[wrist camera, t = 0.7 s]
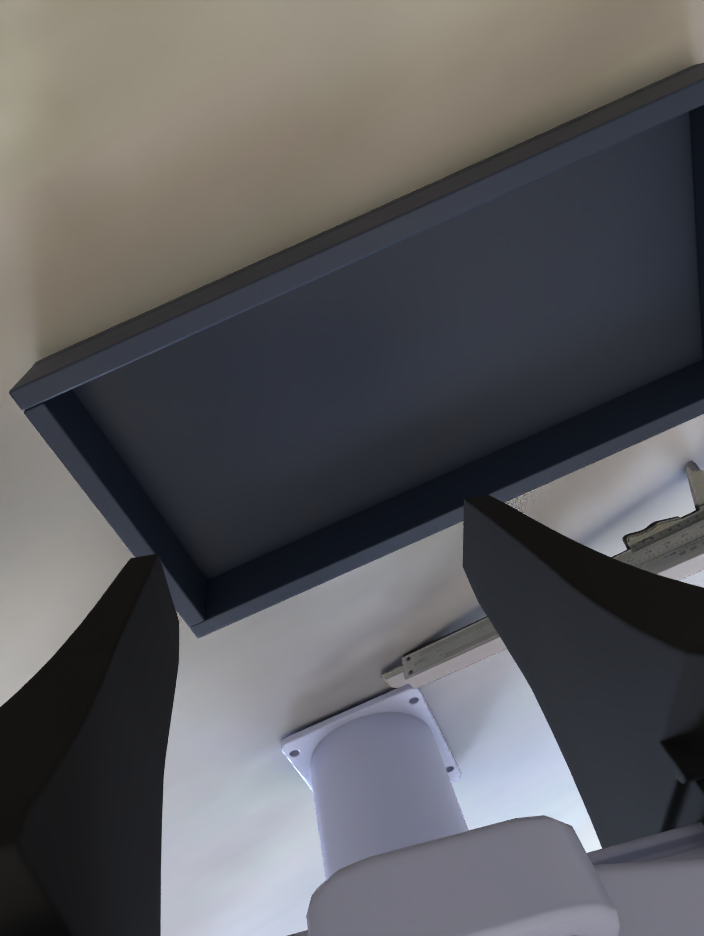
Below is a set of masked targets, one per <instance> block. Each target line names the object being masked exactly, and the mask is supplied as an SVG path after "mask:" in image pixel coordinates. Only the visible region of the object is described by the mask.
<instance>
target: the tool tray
mask: <svg viewBox="0 0 704 936" xmlns="http://www.w3.org/2000/svg"><path fill="white" fill-rule="evenodd" d="M9 394H10V395H11V397H12V398H13V399H14V400H15V402H16V403H17V404H18V406H19V407H20V408H21V409H22V410H25V411H24V414H25V415H26V416H27V418H28V419H29V420H30V422H31V423H32V424H33V425H34V427H35V428H36V429H37V431H38V432H39V433H40V435H41V436H42V437H43V438H44V440H45V441H46V442H47V444H48V445H49V446H50V447H51V449H52V450H53V451H54V453H55V454H56V455H57V457H58V458H59V459H60V460H61V462H62V463H63V464H64V466H65V467H66V468H67V469H68V471H69V472H70V473H71V475H72V476H73V477H74V479H75V480H76V481H77V482H78V484H79V485H80V486H81V488H82V489H83V490H84V491H85V493H86V494H87V495H88V497H89V498H90V499H91V501H92V502H93V503H94V504H95V506H96V507H97V508H98V510H99V511H100V512H101V513H102V515H103V516H104V517H105V519H106V520H107V521H108V523H109V524H110V525H111V526H112V528H113V529H114V530H115V532H116V533H117V534H118V535H119V537H120V538H121V539H122V541H123V542H124V543H125V545H126V546H127V547H128V548H129V550H130V551H131V552H132V554H133V555H134V556H135V557H141V556H147V555H153V554H159V557H160V560H161V564H162V567H163V570H164V574H165V577H166V580H167V584H168V587H169V590H170V593H171V597H172V600H173V603H174V607H175V609H176V611H177V612H178V613H179V614H180V616H181V617H182V618H183V620H184V621H185V622H186V623H187V625H188V626H189V627H190V629H191V630H192V631H193V633H194V634H195V635H196V637H197V638H201V637H203V636H205V635H207V634H210V633H212V632H214V631H216V630H219V629H221V628H223V627H225V626H228V625H230V624H232V623H234V622H237V621H239V620H241V619H243V618H246V617H248V616H250V615H252V614H255V613H257V612H259V611H261V610H264V609H266V608H268V607H270V606H272V605H275V604H277V603H279V602H281V601H284V600H286V599H288V598H290V597H293V596H295V595H297V594H299V593H302V592H304V591H306V590H308V589H311V588H313V587H315V586H317V585H320V584H322V583H324V582H326V581H329V580H331V579H333V578H335V577H338V576H340V575H342V574H344V573H347V572H349V571H351V570H353V569H356V568H358V567H360V566H362V565H365V564H367V563H369V562H371V561H374V560H376V559H378V558H380V557H383V556H385V555H387V554H389V553H392V552H394V551H396V550H398V549H401V548H403V547H405V546H407V545H410V544H412V543H414V542H416V541H419V540H421V539H423V538H425V537H428V536H430V535H432V534H434V533H437V532H439V531H441V530H443V529H446V528H448V527H450V526H452V525H455V524H457V523H459V522H461V521H464V499H466V498H472V497H477V496H483V495H490V496H492V497H494V498H496V499H498V500H500V501H502V502H503V503H504V502H506V501H509V500H511V499H513V498H515V497H518V496H520V495H522V494H524V493H527V492H529V491H531V490H533V489H536V488H538V487H540V486H542V485H545V484H547V483H549V482H551V481H554V480H556V479H558V478H560V477H562V476H565V475H567V474H569V473H571V472H574V471H576V470H578V469H580V468H583V467H585V466H587V465H589V464H592V463H594V462H596V461H598V460H601V459H603V458H605V457H607V456H610V455H612V454H614V453H616V452H619V451H621V450H623V449H625V448H628V447H630V446H632V445H634V444H637V443H639V442H641V441H643V440H646V439H648V438H650V437H652V436H655V435H657V434H659V433H661V432H664V431H666V430H668V429H670V428H673V427H675V426H677V425H679V424H682V423H684V422H686V421H688V420H691V419H693V418H695V417H697V416H700V415H702V414H704V63H701V64H696V65H693V66H691V67H689V68H687V69H685V70H682V71H680V72H678V73H676V74H673V75H671V76H669V77H667V78H665V79H662V80H660V81H658V82H656V83H654V84H651V85H649V86H647V87H645V88H642V89H640V90H638V91H636V92H634V93H631V94H629V95H627V96H625V97H622V98H620V99H618V100H616V101H614V102H611V103H609V104H607V105H605V106H603V107H600V108H598V109H596V110H594V111H591V112H589V113H587V114H585V115H583V116H580V117H578V118H576V119H574V120H571V121H569V122H567V123H565V124H563V125H560V126H558V127H556V128H554V129H552V130H549V131H547V132H545V133H543V134H540V135H538V136H536V137H534V138H532V139H529V140H527V141H525V142H523V143H520V144H518V145H516V146H514V147H512V148H509V149H507V150H505V151H503V152H501V153H498V154H496V155H494V156H492V157H489V158H487V159H485V160H483V161H481V162H478V163H476V164H474V165H472V166H470V167H467V168H465V169H463V170H461V171H458V172H456V173H454V174H452V175H450V176H447V177H445V178H443V179H441V180H438V181H436V182H434V183H432V184H430V185H427V186H425V187H423V188H421V189H419V190H416V191H414V192H412V193H410V194H407V195H405V196H403V197H401V198H399V199H396V200H394V201H392V202H390V203H387V204H385V205H383V206H381V207H379V208H376V209H374V210H372V211H370V212H368V213H365V214H363V215H361V216H359V217H356V218H354V219H352V220H350V221H348V222H345V223H343V224H341V225H339V226H336V227H334V228H332V229H330V230H328V231H325V232H323V233H321V234H319V235H317V236H314V237H312V238H310V239H308V240H305V241H303V242H301V243H299V244H297V245H294V246H292V247H290V248H288V249H285V250H283V251H281V252H279V253H277V254H274V255H272V256H270V257H268V258H266V259H263V260H261V261H259V262H257V263H254V264H252V265H250V266H248V267H246V268H243V269H241V270H239V271H237V272H235V273H232V274H230V275H228V276H226V277H223V278H221V279H219V280H217V281H215V282H212V283H210V284H208V285H206V286H203V287H201V288H199V289H197V290H195V291H192V292H190V293H188V294H186V295H184V296H181V297H179V298H177V299H175V300H172V301H170V302H168V303H166V304H164V305H161V306H159V307H157V308H155V309H152V310H150V311H148V312H146V313H144V314H141V315H139V316H137V317H135V318H133V319H130V320H128V321H126V322H124V323H121V324H119V325H117V326H115V327H113V328H110V329H108V330H106V331H104V332H101V333H99V334H97V335H95V336H93V337H90V338H88V339H86V340H84V341H82V342H79V343H77V344H75V345H73V346H70V347H68V348H66V349H64V350H62V351H59V352H57V353H55V354H53V355H51V356H48V357H46V358H44V359H42V360H39V361H37V362H36V363H35V364H34V365H33V367H32V368H31V369H30V370H29V371H28V372H27V373H26V374H25V375H24V376H23V377H22V378H21V379H20V381H19V382H18V383H17V384H16V385H15V386H14V387H13V388H12V389H11V390H10V391H9Z"/></svg>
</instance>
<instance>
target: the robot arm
mask: <svg viewBox="0 0 704 936" xmlns="http://www.w3.org/2000/svg"><path fill="white" fill-rule="evenodd" d="M463 568H464V570H465V573H466V575H467V577H468V580H469V582H470V584H471V587H472V589H473V591H474V593H475V595H476V598H477V600H478V602H479V603H480V605H481V607H482V608H483V610H484V612H485V613H486V615H487V617H488V618H489V620H490V622H491V623H492V625H493V627H494V628H495V630H496V631H497V633H498V635H499V636H500V638H501V639H502V641H503V643H504V644H505V646H506V647H507V649H508V651H509V652H510V654H511V655H512V657H513V659H514V660H515V662H516V663H517V665H518V667H519V668H520V670H521V672H522V673H523V675H524V677H525V678H526V680H527V682H528V684H529V685H530V687H531V689H532V691H533V693H534V695H535V697H536V699H537V701H538V703H539V705H540V707H541V709H542V711H543V713H544V715H545V718H546V720H547V722H548V724H549V726H550V728H551V730H552V732H553V734H554V737H555V739H556V741H557V743H558V745H559V748H560V750H561V752H562V754H563V756H564V759H565V761H566V763H567V765H568V767H569V770H570V772H571V774H572V777H573V779H574V781H575V784H576V786H577V788H578V791H579V793H580V795H581V798H582V800H583V802H584V805H585V807H586V809H587V812H588V814H589V816H590V819H591V821H592V824H593V826H594V829H595V831H596V834H597V836H598V839H599V841H600V844H601V846H602V849H600V850H596V851H592V852H589V853H586V852H585V850H584V848H583V846H582V844H581V842H580V840H579V838H578V836H577V835H576V833H575V831H574V829H573V827H572V826H570V825H568V824H565V823H563V822H560V821H558V820H555V819H553V818H550V817H547V816H534V817H524V818H515V819H511V820H507V821H504V822H500V823H496V824H492V825H488V826H485V827H481V828H477V829H473V830H468V828H467V825H466V822H465V820H464V817H463V814H462V811H461V809H460V806H459V803H458V801H457V798H456V795H455V792H454V790H453V787H452V783H454V782H456V781H458V780H459V779H460V778H461V776H462V775H461V772H460V769H459V767H458V765H457V763H456V761H455V759H454V757H453V755H452V753H451V751H450V749H449V747H448V745H447V743H446V741H445V739H444V737H443V735H442V733H441V731H440V729H439V727H438V725H437V723H436V721H435V719H434V717H433V715H432V713H431V711H430V709H429V707H428V705H427V703H426V701H425V699H424V697H423V695H422V693H421V691H420V689H419V688H417V689H414V688H413V687H412V686H411V685H410V684H406V685H404V686H402V687H399V688H397V689H394V690H392V691H390V692H388V693H385V694H383V695H381V696H378V697H376V698H374V699H372V700H369V701H367V702H365V703H363V704H360V705H358V706H356V707H354V708H351V709H349V710H347V711H345V712H342V713H340V714H338V715H336V716H333V717H331V718H329V719H326V720H324V721H322V722H320V723H317V724H315V725H313V726H311V727H308V728H306V729H304V730H302V731H299V732H297V733H295V734H293V735H290V736H288V737H286V738H284V739H283V740H282V741H281V750H282V752H283V753H284V755H285V756H286V757H287V758H288V760H289V761H290V762H291V763H292V765H293V766H294V767H295V769H296V770H297V771H298V772H299V774H300V775H301V776H302V778H303V779H304V780H305V781H306V783H307V784H308V785H309V787H310V788H311V789H312V790H313V795H314V802H315V809H316V816H317V823H318V830H319V836H320V843H321V850H322V857H323V864H324V871H325V878H326V881H325V882H324V883H323V884H321V885H320V886H319V887H318V888H317V889H316V891H315V892H314V894H313V895H312V897H311V901H310V905H309V908H308V912H307V916H306V917H307V926H308V930H306V931H303V932H299V933H295V934H292V935H288V936H704V588H703V587H699V586H695V585H691V584H687V583H684V582H681V581H677V580H674V579H671V578H667V577H664V576H661V575H658V574H654V573H651V572H649V571H646V570H643V569H640V568H637V567H634V566H632V565H629V564H627V563H624V562H621V561H619V560H616V559H614V558H611V557H609V556H606V555H604V554H602V553H599V552H597V551H595V550H593V549H591V548H588V547H586V546H584V545H582V544H580V543H578V542H576V541H574V540H572V539H570V538H568V537H566V536H564V535H562V534H560V533H558V532H556V531H554V530H552V529H550V528H548V527H546V526H545V525H543V524H541V523H539V522H537V521H536V520H534V519H532V518H530V517H528V516H527V515H525V514H523V513H521V512H519V511H518V510H516V509H514V508H512V507H511V506H509V505H507V504H505V503H503V502H502V501H500V500H498V499H496V498H494V497H492V496H490V495H483V496H477V497H472V498H466V499H464V531H463ZM178 664H179V620H178V617H177V613H176V610H175V607H174V603H173V600H172V597H171V593H170V590H169V587H168V584H167V580H166V577H165V574H164V570H163V567H162V564H161V560H160V557H159V554H153V555H147V556H141V557H136V558H131V559H130V560H129V561H128V562H127V564H126V565H125V566H124V568H123V569H122V570H121V571H120V573H119V574H118V576H117V577H116V578H115V580H114V581H113V582H112V584H111V585H110V586H109V588H108V589H107V590H106V592H105V593H104V594H103V596H102V597H101V599H100V600H99V601H98V602H97V604H96V605H95V606H94V608H93V609H92V610H91V611H90V613H89V614H88V615H87V617H86V618H85V619H84V620H83V622H82V623H81V624H80V626H79V627H78V628H77V629H76V630H75V631H74V633H73V634H72V635H71V636H70V637H69V638H68V640H67V641H66V642H65V643H64V644H63V645H62V647H61V648H60V649H59V650H58V651H57V652H56V653H55V655H54V656H53V657H52V658H51V659H50V660H49V661H48V662H47V663H46V664H45V665H44V666H43V667H42V668H41V669H40V670H39V671H38V672H37V673H36V674H35V675H34V676H33V677H32V678H31V679H30V680H29V681H28V682H27V683H26V684H25V685H24V686H23V687H22V688H21V689H20V690H19V691H18V692H17V693H16V694H15V695H14V696H12V697H11V698H10V699H9V700H8V701H7V702H6V703H4V704H3V705H2V706H1V707H0V936H160V916H161V838H162V805H163V779H164V768H165V757H166V750H167V743H168V736H169V729H170V722H171V715H172V708H173V701H174V694H175V687H176V679H177V672H178ZM413 697H414V698H413Z"/></svg>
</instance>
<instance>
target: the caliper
mask: <svg viewBox="0 0 704 936" xmlns="http://www.w3.org/2000/svg"><path fill="white" fill-rule="evenodd" d="M686 473H687V477H688V481H689V485H690V489H691V493H692V497H693V501H694V504H695V508H696V511H694V512H692V513H689V514H687V515H685V516H683V517H681V518H680V517H678V516H677V517H673V518H668V519H664V520H660V521H655V522H653V523H652V524H650V525H649V526H648V527H646V528H645V529H643V530H641V531H638V532H634V533H630V534H627V535H625V536H624V537H623V539H622V540H623V542H624V544H625V546H626V547H627V549H628V550H626V551H624V552H622V553H619V554H617V555H615V556H613V557H611V558H614V559H616V560H619V561H621V562H624V563H627V564H629V565H632V566H634V567H637V568H640V569H643V570H646V571H649V572H651V573H654V574H658V575H661V576H664V577H667V578H671V579H674V580H677V581H679V580H681V579H683V578H686V577H688V576H690V575H693V574H695V573H697V572H699V571H702V570H704V471H701V470H700V469H699V467H698V466H697V465H696V463H694V462H693V461H690V462H689V463H688V465H687V468H686ZM505 649H507V647H506V646H505V644H504V643H503V641H502V639H501V638H500V636H499V635H498V633H497V631H496V630H495V628H494V627H493V625H492V623H491V622H490V620H489V618H488V617H484V618H482V619H480V620H478V621H476V622H474V623H472V624H469V625H467V626H465V627H463V628H461V629H459V630H457V631H454V632H452V633H450V634H448V635H446V636H444V637H442V638H439V639H437V640H435V641H433V642H431V643H429V644H427V645H424V646H422V647H420V648H418V649H416V650H414V651H412V652H409V653H407V654H405V655H404V656H402V665H401V666H399V667H397V668H394V669H392V670H390V671H388V672H386V673H384V674H382V676H381V678H382V679H383V680H384V681H385V682H386V683H387V684H388V685H389V686H390V687H392V688H393V687H395V688H396V689H397V688H399V687H402V686H404V685H406V684H408V683H409V684H410V685H411V686H412V687H413V688H414V689H417V688H420V687H422V686H424V685H426V684H429V683H431V682H433V681H435V680H438V679H440V678H442V677H444V676H446V675H449V674H451V673H453V672H455V671H458V670H460V669H462V668H464V667H467V666H469V665H471V664H473V663H476V662H478V661H480V660H482V659H485V658H487V657H489V656H491V655H494V654H496V653H498V652H500V651H502V650H505Z"/></svg>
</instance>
